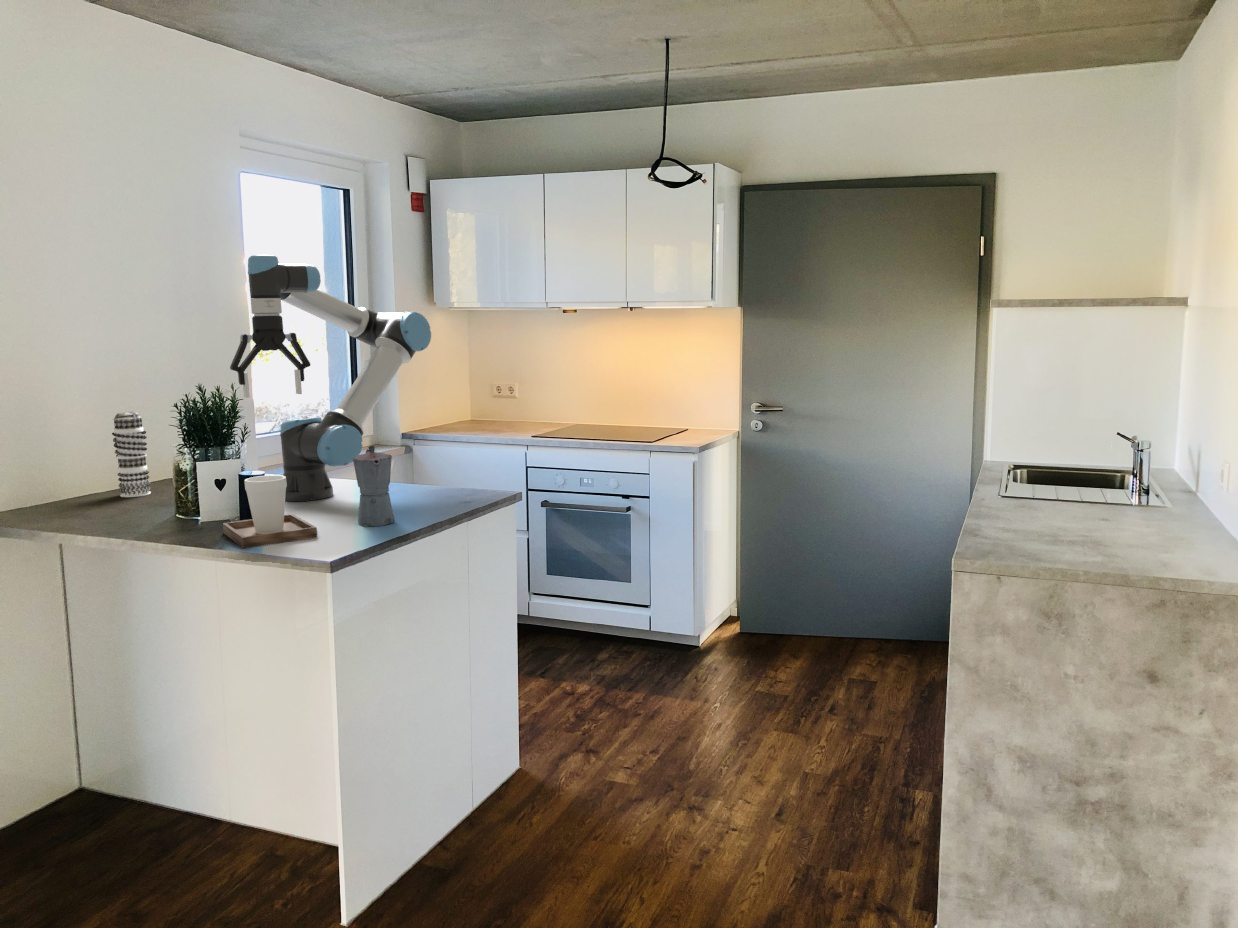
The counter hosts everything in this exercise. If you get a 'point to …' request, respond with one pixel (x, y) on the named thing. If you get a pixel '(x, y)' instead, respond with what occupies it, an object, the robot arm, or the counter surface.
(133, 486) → the decorative candle
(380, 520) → the moka pot
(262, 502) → the foam cup
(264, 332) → the robot arm
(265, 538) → the walnut tray
